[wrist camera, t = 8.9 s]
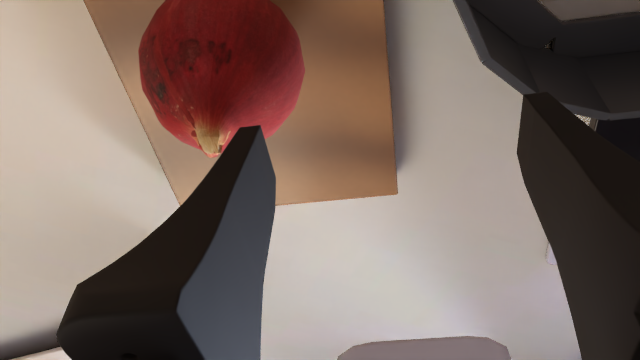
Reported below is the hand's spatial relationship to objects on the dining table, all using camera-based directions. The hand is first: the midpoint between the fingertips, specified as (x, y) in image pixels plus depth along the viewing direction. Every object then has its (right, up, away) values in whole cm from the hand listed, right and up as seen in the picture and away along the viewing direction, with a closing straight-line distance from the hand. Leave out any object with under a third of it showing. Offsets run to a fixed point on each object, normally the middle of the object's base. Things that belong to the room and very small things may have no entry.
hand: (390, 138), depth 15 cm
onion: (-5, +6, +7) cm, 11 cm away
